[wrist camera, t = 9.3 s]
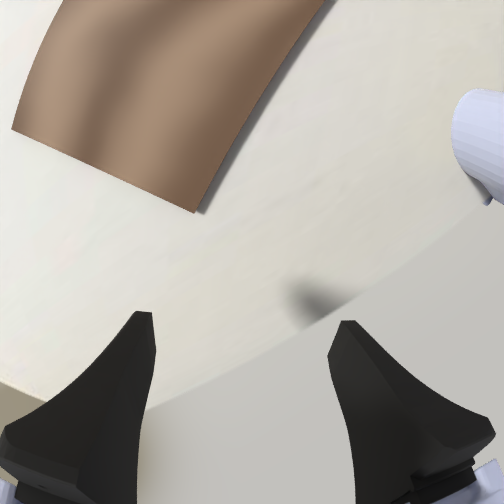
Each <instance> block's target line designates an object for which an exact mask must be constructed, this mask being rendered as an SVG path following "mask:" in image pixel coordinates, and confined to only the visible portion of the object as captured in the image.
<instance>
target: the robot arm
mask: <svg viewBox="0 0 504 504" xmlns="http://www.w3.org/2000/svg"><path fill="white" fill-rule="evenodd" d="M451 139H452V147H453V150H454V154H455V157H456V159H457V162H458V163H459V165H460V166H461V168H462V169H463V170H464V171H465V172H466V173H467V174H468V175H470V176H472V177H474V178H476V179H478V180H479V181H480V182H481V183H482V184H483V185H484V186H485V187H486V189H487V190H488V191H489V193H490V194H491V196H490V197H489V198H488V199H487V200H485V201H484V202H483V204H484V205H485V206H488V205H489V204H490V203H491V201H492V199H493V198H494V199H495V200H497V201H498V202H500V203H502V204H503V205H504V92H499V91H493V90H487V89H480V88H477V89H473V90H471V91H469V92H467V93H466V94H465V95H464V96H463V97H462V98H461V100H460V101H459V102H458V105H457V107H456V109H455V112H454V115H453V119H452V127H451ZM155 356H156V345H155V337H154V328H153V319H152V312H142V311H135V312H134V313H133V314H132V316H131V317H130V318H129V320H128V321H127V322H126V324H125V325H124V326H123V328H122V329H121V330H120V331H119V333H118V334H117V335H116V337H115V338H114V339H113V340H112V341H111V342H110V344H109V345H108V346H107V347H106V348H105V350H104V351H103V352H102V353H101V354H100V355H99V356H98V357H97V358H96V359H95V361H94V362H93V363H92V364H91V365H90V366H89V367H88V368H87V369H86V370H85V371H84V372H83V373H82V374H81V375H80V376H79V377H78V378H76V379H75V380H74V381H73V382H72V383H71V384H70V385H68V386H67V387H66V388H65V389H64V390H62V391H61V392H60V393H59V394H57V395H56V396H55V397H53V398H52V399H51V400H49V401H48V402H46V403H45V404H43V405H42V406H40V407H39V408H37V409H36V410H34V411H33V412H31V413H29V414H28V415H26V416H24V417H22V418H20V419H18V420H16V421H14V422H12V423H11V424H9V425H7V426H5V428H4V430H3V432H2V434H1V437H0V466H1V467H2V468H3V469H5V470H6V471H7V472H8V473H9V474H11V475H12V476H13V477H15V478H16V479H17V480H18V484H17V487H16V486H15V485H13V484H11V483H9V482H7V481H5V480H3V479H1V478H0V504H137V466H138V451H139V439H140V429H141V424H142V419H143V415H144V410H145V406H146V402H147V398H148V393H149V389H150V385H151V381H152V377H153V372H154V364H155ZM328 362H329V368H330V373H331V378H332V381H333V385H334V388H335V391H336V394H337V397H338V400H339V403H340V406H341V409H342V412H343V415H344V419H345V422H346V426H347V430H348V434H349V440H350V446H351V452H352V459H353V467H354V478H355V496H356V504H504V476H503V473H502V471H501V469H500V466H499V464H498V462H497V460H496V459H493V460H491V461H490V462H488V463H487V464H485V465H483V466H481V467H479V468H478V469H476V470H475V471H473V469H472V467H471V466H473V465H474V464H475V461H474V458H473V457H474V456H475V455H476V454H477V453H479V452H480V451H481V450H482V449H483V448H484V447H485V446H487V445H488V444H489V443H490V442H491V441H492V440H493V439H494V437H495V435H496V433H495V431H494V429H493V427H492V425H491V423H490V421H489V419H488V418H487V417H485V416H482V415H480V414H477V413H474V412H472V411H469V410H467V409H465V408H463V407H461V406H459V405H457V404H455V403H453V402H451V401H450V400H448V399H446V398H444V397H443V396H441V395H440V394H438V393H436V392H435V391H433V390H432V389H430V388H429V387H427V386H426V385H425V384H423V383H422V382H420V381H419V380H418V379H417V378H415V377H414V376H413V375H412V374H411V373H409V372H408V371H407V370H406V369H405V368H404V367H402V366H401V365H400V364H399V363H398V362H397V361H396V360H395V359H394V358H393V357H392V356H391V355H389V354H388V353H387V352H386V351H385V350H384V349H383V348H382V347H381V346H380V345H379V344H378V343H377V342H376V341H375V340H374V339H373V338H372V337H371V336H370V335H369V334H368V333H367V332H366V331H365V330H364V329H363V328H362V327H361V326H360V325H359V324H358V323H357V322H356V321H355V320H352V321H351V320H349V321H341V323H340V325H339V328H338V331H337V333H336V336H335V338H334V341H333V343H332V346H331V348H330V351H329V353H328Z"/></svg>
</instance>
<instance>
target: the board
mask: <svg viewBox="0 0 504 504" xmlns="http://www.w3.org/2000/svg"><path fill="white" fill-rule="evenodd" d="M324 1H325V0H63V2H62V4H61V6H60V7H59V9H58V11H57V13H56V15H55V17H54V19H53V21H52V23H51V25H50V27H49V29H48V31H47V33H46V35H45V37H44V39H43V41H42V43H41V46H40V48H39V50H38V52H37V55H36V57H35V60H34V62H33V65H32V67H31V70H30V72H29V75H28V78H27V80H26V83H25V86H24V89H23V92H22V95H21V98H20V101H19V104H18V107H17V111H16V114H15V117H14V121H13V125H12V128H11V129H12V130H14V131H16V132H18V133H21V134H23V135H25V136H27V137H29V138H32V139H34V140H36V141H38V142H41V143H43V144H45V145H47V146H49V147H52V148H54V149H56V150H58V151H60V152H62V153H65V154H67V155H69V156H71V157H73V158H76V159H78V160H80V161H82V162H84V163H86V164H89V165H91V166H93V167H95V168H97V169H99V170H102V171H104V172H106V173H108V174H110V175H112V176H115V177H117V178H119V179H121V180H123V181H125V182H127V183H130V184H132V185H134V186H136V187H138V188H140V189H142V190H145V191H147V192H149V193H151V194H153V195H155V196H157V197H160V198H162V199H164V200H166V201H168V202H170V203H172V204H174V205H177V206H179V207H181V208H183V209H185V210H187V211H189V212H191V213H195V211H196V209H197V207H198V205H199V203H200V202H201V200H202V198H203V196H204V194H205V192H206V190H207V188H208V187H209V185H210V183H211V181H212V179H213V177H214V175H215V174H216V172H217V170H218V168H219V166H220V165H221V163H222V161H223V159H224V157H225V156H226V154H227V152H228V150H229V149H230V147H231V145H232V143H233V142H234V140H235V138H236V137H237V135H238V133H239V131H240V130H241V128H242V126H243V125H244V123H245V121H246V120H247V118H248V116H249V114H250V113H251V111H252V110H253V108H254V106H255V105H256V103H257V101H258V100H259V98H260V96H261V95H262V93H263V92H264V90H265V88H266V87H267V85H268V84H269V82H270V80H271V79H272V77H273V76H274V74H275V73H276V71H277V69H278V68H279V66H280V65H281V63H282V62H283V60H284V59H285V57H286V56H287V54H288V53H289V51H290V50H291V48H292V47H293V45H294V44H295V42H296V41H297V39H298V38H299V36H300V35H301V33H302V32H303V31H304V29H305V28H306V26H307V25H308V23H309V22H310V20H311V19H312V18H313V16H314V15H315V13H316V12H317V11H318V9H319V8H320V6H321V5H322V4H323V2H324Z"/></svg>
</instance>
